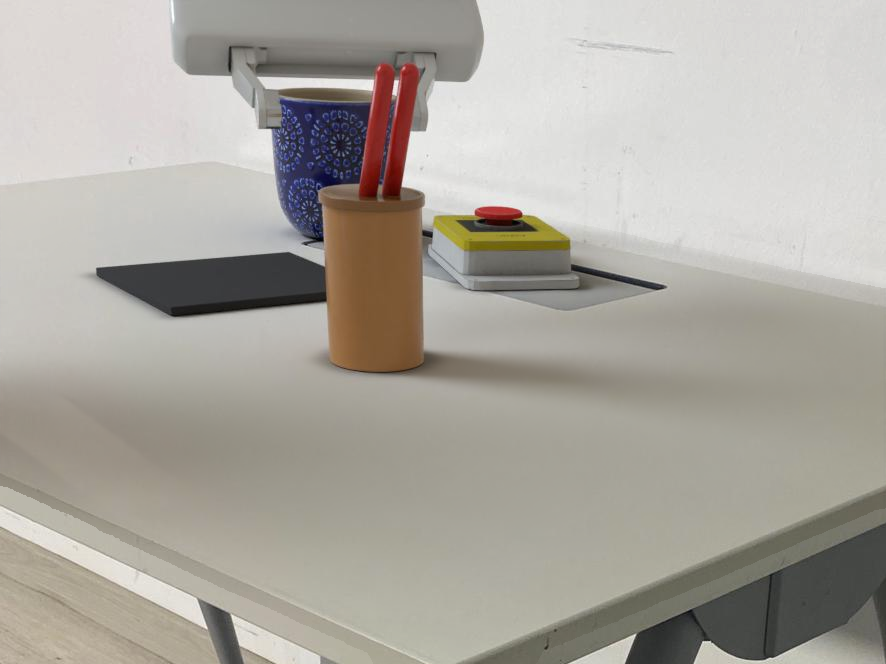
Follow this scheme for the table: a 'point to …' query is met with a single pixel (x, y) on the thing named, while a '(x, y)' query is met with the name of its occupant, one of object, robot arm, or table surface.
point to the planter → (320, 148)
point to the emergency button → (502, 251)
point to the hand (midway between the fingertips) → (344, 124)
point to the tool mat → (221, 282)
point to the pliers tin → (377, 244)
